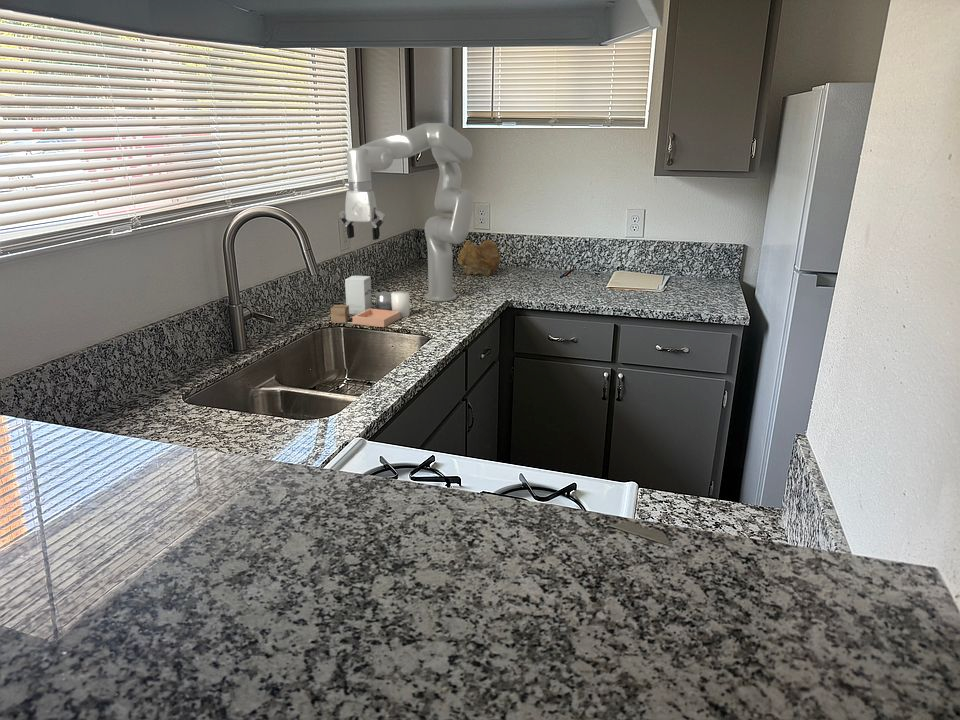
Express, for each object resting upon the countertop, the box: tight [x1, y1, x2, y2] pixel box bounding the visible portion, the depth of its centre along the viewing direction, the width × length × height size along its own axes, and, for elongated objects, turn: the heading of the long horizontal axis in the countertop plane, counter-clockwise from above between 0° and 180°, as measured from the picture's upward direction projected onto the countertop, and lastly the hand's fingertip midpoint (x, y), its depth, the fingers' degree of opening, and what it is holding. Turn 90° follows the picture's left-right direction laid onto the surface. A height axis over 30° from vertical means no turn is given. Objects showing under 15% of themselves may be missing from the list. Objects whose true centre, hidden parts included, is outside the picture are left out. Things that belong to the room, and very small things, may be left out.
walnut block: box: [330, 304, 351, 324], centre depth 240 cm, size 5×5×5 cm
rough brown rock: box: [457, 239, 501, 277], centre depth 316 cm, size 23×17×15 cm
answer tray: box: [351, 308, 401, 328], centre depth 240 cm, size 12×12×2 cm
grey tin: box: [375, 291, 392, 311], centre depth 254 cm, size 6×6×6 cm
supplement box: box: [344, 275, 373, 315], centre depth 250 cm, size 7×7×13 cm
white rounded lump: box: [390, 290, 411, 318], centre depth 247 cm, size 6×6×8 cm
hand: (363, 238), depth 236 cm, fingers open, 9 cm apart
